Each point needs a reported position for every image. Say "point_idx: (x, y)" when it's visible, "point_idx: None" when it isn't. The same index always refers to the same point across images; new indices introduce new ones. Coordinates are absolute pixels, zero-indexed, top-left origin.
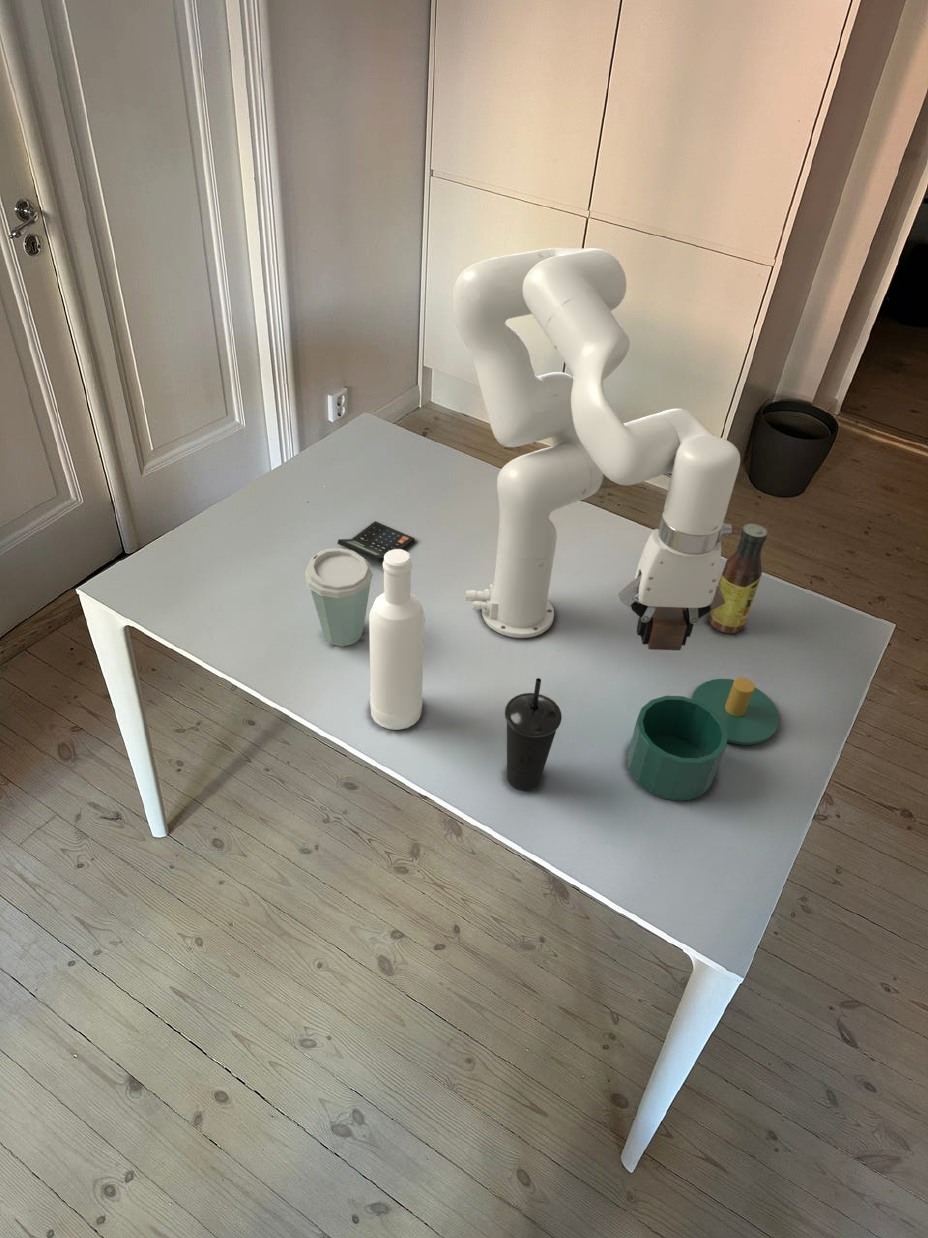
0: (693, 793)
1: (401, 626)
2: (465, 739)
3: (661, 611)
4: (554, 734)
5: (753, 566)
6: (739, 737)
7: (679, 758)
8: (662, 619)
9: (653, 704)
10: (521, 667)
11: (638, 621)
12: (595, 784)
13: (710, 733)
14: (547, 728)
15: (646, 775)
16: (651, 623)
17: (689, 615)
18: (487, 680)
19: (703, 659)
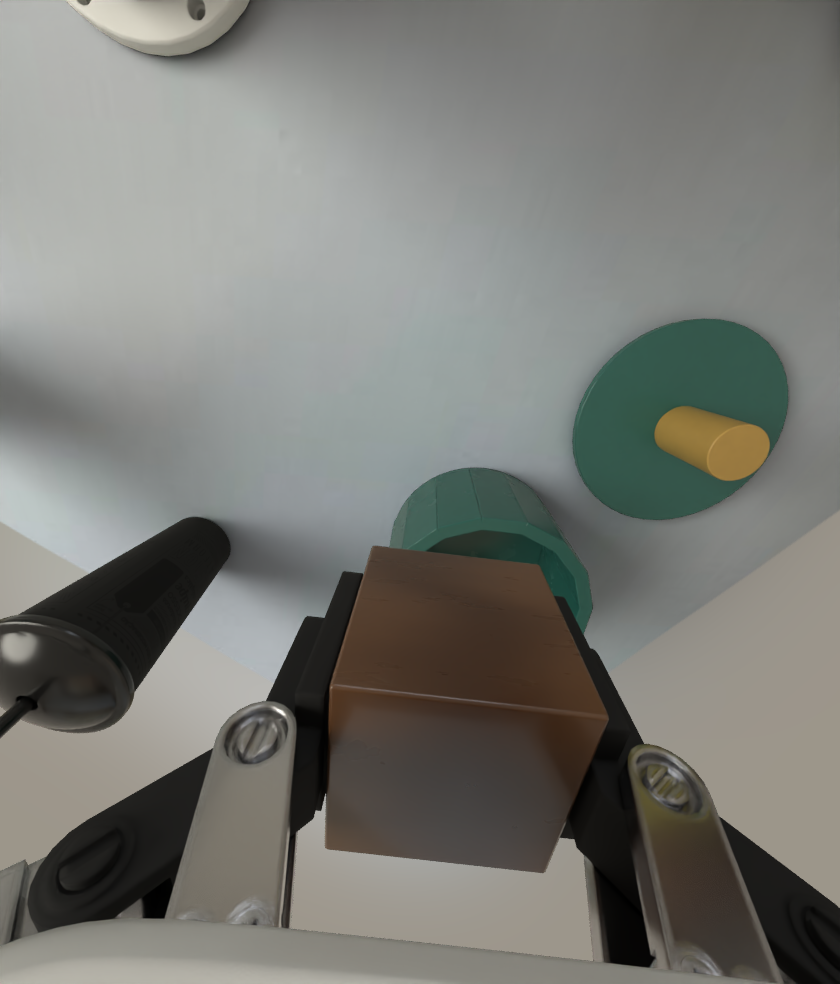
0: None
1: None
2: (81, 450)
3: (413, 764)
4: (147, 673)
5: None
6: (638, 507)
7: None
8: (395, 822)
9: (437, 542)
10: (177, 213)
11: (287, 661)
12: (327, 564)
13: (561, 567)
14: (92, 726)
15: None
16: (319, 808)
17: (591, 940)
18: (93, 264)
19: (711, 207)
